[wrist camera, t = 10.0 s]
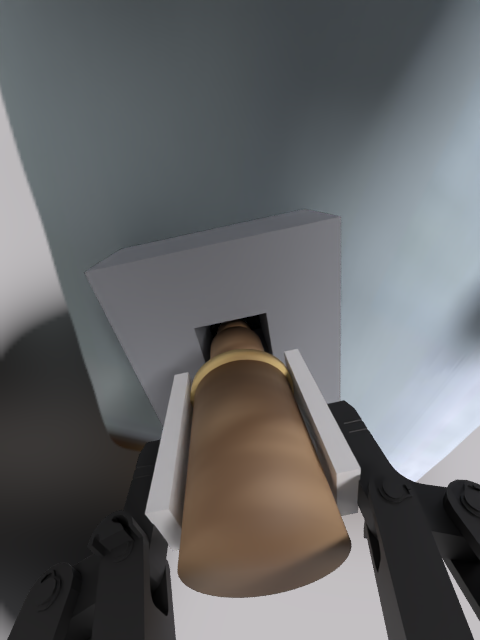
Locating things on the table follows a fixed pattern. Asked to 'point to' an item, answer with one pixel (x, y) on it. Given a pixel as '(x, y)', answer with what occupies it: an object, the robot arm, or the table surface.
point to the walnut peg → (253, 479)
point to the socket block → (227, 297)
